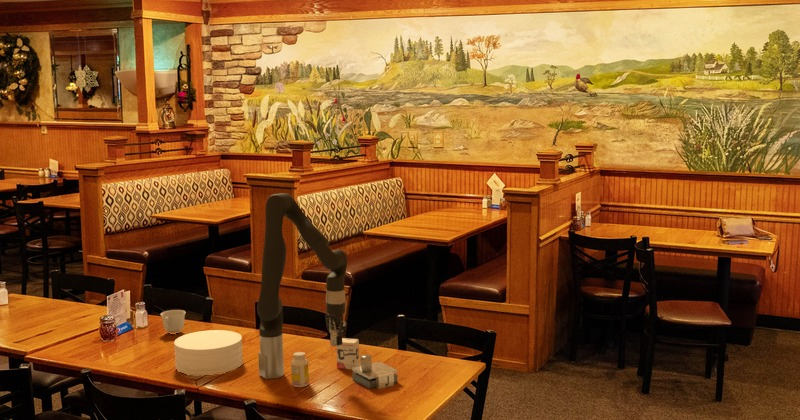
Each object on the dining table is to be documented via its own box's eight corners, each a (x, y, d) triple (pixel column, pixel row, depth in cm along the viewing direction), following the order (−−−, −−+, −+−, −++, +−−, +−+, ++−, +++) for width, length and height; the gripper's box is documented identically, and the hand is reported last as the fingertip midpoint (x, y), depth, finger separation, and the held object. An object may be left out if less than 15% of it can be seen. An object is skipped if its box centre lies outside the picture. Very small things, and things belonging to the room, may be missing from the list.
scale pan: (369, 381, 327) (369, 376, 326) (352, 372, 337) (352, 367, 337) (397, 375, 334) (397, 370, 334) (379, 366, 345) (379, 361, 344)
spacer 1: (334, 346, 329) (334, 331, 328) (328, 343, 333) (328, 329, 332) (344, 344, 332) (343, 329, 331) (338, 342, 335) (338, 327, 334)
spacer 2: (364, 373, 330) (363, 358, 329) (358, 370, 334) (358, 355, 333) (373, 371, 332) (373, 356, 332) (367, 368, 336) (367, 353, 335)
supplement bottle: (306, 381, 337) (305, 350, 336) (310, 386, 331) (309, 355, 329) (290, 383, 335) (289, 352, 333) (293, 388, 329) (292, 357, 327)
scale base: (372, 390, 325) (372, 378, 325) (352, 380, 338) (352, 368, 337) (400, 383, 332) (400, 371, 332) (379, 373, 345) (379, 361, 344)
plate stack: (162, 366, 359) (161, 340, 357) (217, 351, 379) (216, 326, 377) (200, 381, 340) (199, 354, 338) (256, 364, 360) (255, 338, 358)
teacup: (154, 338, 400) (153, 317, 398) (168, 329, 414) (166, 309, 413) (178, 338, 398) (177, 318, 396) (191, 329, 412) (190, 310, 411)
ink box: (336, 368, 352) (335, 341, 351) (340, 364, 357) (340, 337, 355) (355, 370, 350) (355, 342, 348) (359, 366, 354) (359, 339, 353)
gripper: (318, 298, 334) (319, 340, 336) (336, 306, 322) (336, 349, 324) (335, 295, 338) (335, 337, 340) (353, 303, 326) (353, 346, 328)
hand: (336, 342), depth 332 cm, fingers closed on spacer 1, 4 cm apart
